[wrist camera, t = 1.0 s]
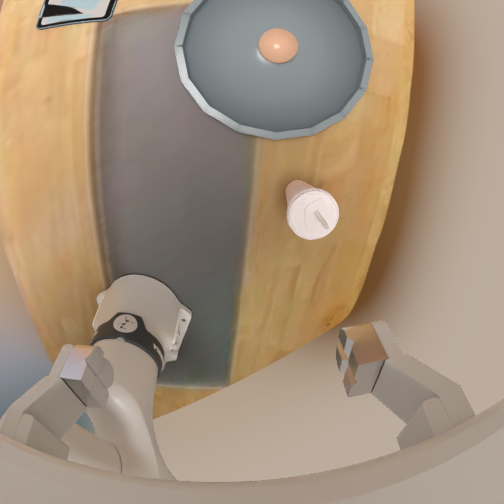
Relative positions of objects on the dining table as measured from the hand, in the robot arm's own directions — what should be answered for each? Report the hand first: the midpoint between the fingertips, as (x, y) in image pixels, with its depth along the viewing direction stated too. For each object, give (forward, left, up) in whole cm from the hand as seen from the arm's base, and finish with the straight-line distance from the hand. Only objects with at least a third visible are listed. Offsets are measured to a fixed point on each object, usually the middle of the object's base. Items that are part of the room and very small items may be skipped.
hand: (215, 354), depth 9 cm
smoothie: (-3, -11, -34) cm, 36 cm away
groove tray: (+17, -3, -34) cm, 38 cm away
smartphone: (+23, +29, -35) cm, 51 cm away
